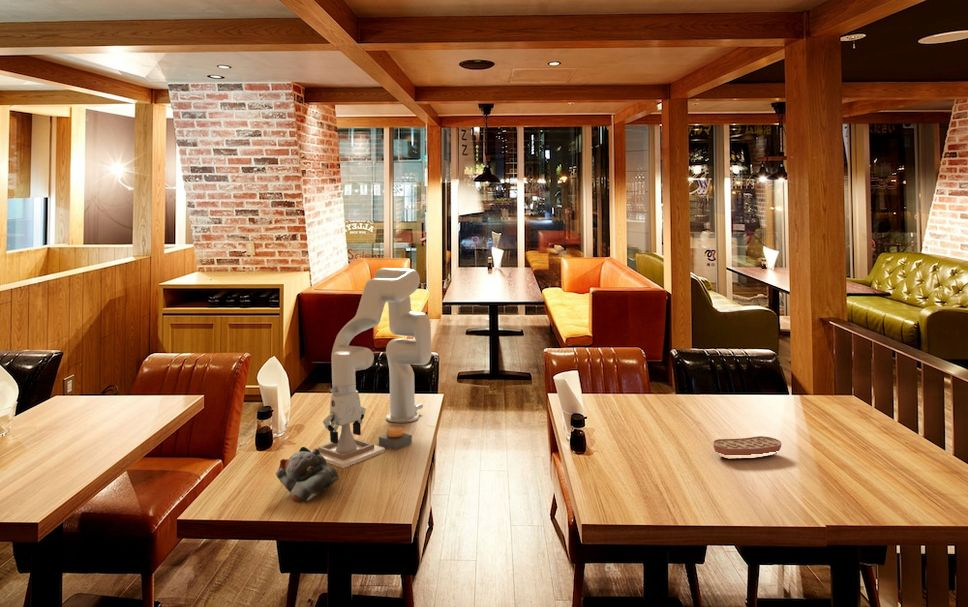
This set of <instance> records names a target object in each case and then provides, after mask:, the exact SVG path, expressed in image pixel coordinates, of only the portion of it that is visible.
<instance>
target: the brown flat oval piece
mask: <svg viewBox="0 0 968 607" xmlns="http://www.w3.org/2000/svg"><path fill="white" fill-rule="evenodd" d="M712 444H713V445H712V446H713V450H714V451H715V453H716V452H718V453H721V454H724V455H751V454H763V453H769V452H776V451H779V452H780V450H781V448H782V441H781V440H779V439H776V438H775V437H774V438H773V437H770V436H764V435H763V436H762V435H759V436H752V437H743V438H719V439H716V440H714V441H713V443H712Z"/></svg>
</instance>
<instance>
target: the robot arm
mask: <svg viewBox="0 0 968 607" xmlns="http://www.w3.org/2000/svg"><path fill="white" fill-rule="evenodd" d="M373 277H374V278H371V279H369V280H367V281H366V282H365V285H364V288H363V291H362V294H361V298H360V301H359V305H358V308H357V310H356V314H355V316H354V317H353V318H352V319H350V320H349V321H348V322H347V323H346V324H345V325H344V326H343V327H342V328H341V329H340V331H339V332H338V333H337V335H336V338H335V340H334V343H333V346H332V349H331V350H332V351H331V359H330V360H331V380H332V381H331V382H332V383H331V385H332V388H330V391H329V392H330V393H331V394H330V395H331V396H330V403H329V415H327V417H325V418H324V419H323V421H322V423H323V425H324V426H325V428H326V429H327V431H329V440H330V443H331V442H332V443H335V444H337V443H338V440H339V432H338V429H339V426H341V427H342V425H346V424H349V423H350V424H351V423H352V435H356V436H362V433H361V431H362V430H361V429H362V428H361V424H362V423H363V419H364V417H365V414H366V410H367V408H365V407H363V406H362V405H361V398H360V395H359V391H358V390H357V388H356V387H357V385H356V384H357V382H356V372H357V371H361V370H366V369H368V368H370V367H371V366H372V365H373V364H374V361H375V360H374V359H375V355H374V352H373V351H372V349H370V348H368V347H364V346H355V345H350V343H351V341H352V340H353V339H354V338H355V336H357V335H359V334H361V333H362V332H365V331H367V330H369V329H371V328H374V327H376V326H378V325H379V324H380V322H381V318H382V315H383V312H384V308H385V305H386V303H387V306H388V323H389V324H388V326H389V331H390V333H391V334H393V335H395V336H401V337H412V339H411V338H401V337H400V338H394V339H391V340H390V341H388V343H387V345H386V348H385V352H386V353H385V355H386V358H387V359H386V360H387V364H388V369H389V370H388V371H389V372H388V373H389V374H388V376H389V403H390V406H389V411H390V412H389V413H388V414H386V417H385V418H386V420H387V421H388V422H390V423H395V424H404V423H412V422H414V421H417V420H419V418H420V416H419V415H420V414H419V413H418V410H420V409H423V407H424V406H423V404H422V403H417V404H415V402H416V401H415V400H416V399H415V372H414V370H413V367H412V366H411V365H415V366H424V365H427V364H428V363H430V360H431V358H432V327H431V320H430V317H429V316H428V315H427V313H424V312H421V311H412V306H411V303H412V302H411V297H410V296H411V295H412V294H414V293H415V292H416V291H417V289H418V288H419V286H420V282H421V279H420V275H419V272H418V271H417V270H415V269H414V268H412V269H411V268H399V267H398V268H397V267H382V268H378V269H377V270H376V271H375V272H374V276H373ZM413 337H414V339H413Z"/></svg>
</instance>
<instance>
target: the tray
mask: <svg viewBox="0 0 968 607" xmlns="http://www.w3.org/2000/svg"><path fill="white" fill-rule="evenodd" d="M353 438H354V437H353ZM354 440H355V442H356V445H357V450H354V451H352V452H349V453H340V452H336V448H337V444H338V443H337V444H335V443H332V442H331V441H330V442H328V443H326V444H322V445H320V446H317V449H319V452H320V454H321V455H322V456H323V457H324V459H325V460H326V462H327V464H330V465H332V464H333V465H332V466H334V467H339V468H341V469H345V467H346V468H348V467H351V466H353V465H355V464H357V462H358V463H360V462H362V461H365V460H368V459H370V458H372V456H373V457H374V455H375V456H378V455H380V454H382V453H385V452H386V447H383V446H380V445H376V444H374V443H370V442H368V441H364V440H361V439H359V438H354ZM338 441H339V439H338ZM312 450H313V449H312ZM312 450H310V451H312ZM384 451H385V452H384ZM379 453H380V454H379ZM377 454H378V455H377ZM369 457H370V458H369ZM367 458H368V459H367ZM352 464H353V465H352ZM350 465H351V466H350Z"/></svg>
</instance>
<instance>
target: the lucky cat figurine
mask: <svg viewBox="0 0 968 607" xmlns="http://www.w3.org/2000/svg"><path fill="white" fill-rule="evenodd" d="M317 448H318V447H317ZM317 448H314V449H312V451H311V450H310V449H308V448H307V447H306V446H302V447H300V449H299V451H298V452H294V453H293V454H292V455H291V456H290V457H289V458H287V459H285V458H283V459H280V462H279V463H280V464H279V467H278V468H277V470H276V472H275V476H276V478H277V479H278V480H279V481H280V483H281V484H282V485H283V486H284V488H285V489H286V490H287V491H288V492H289V494H290V495H291V497H292V500H293V501H294V502H297V503H302V502H305V503H307V502H308V501H310V500H312V499H314V498H315V497H316V496H317V495H319V494H321V492H323V491H325V490H326V489H328V488H330V487H331V486H333V484H334V483H335V482H336V481H338V480H339V479H340V475H339V472H338V471H337V469H336V468H335V466H333V465H331V464H330V465H329V464H328V463H327V462H326V460H325V459H324V457H323V456H322V455H321V454H320V452H319V449H317Z"/></svg>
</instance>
